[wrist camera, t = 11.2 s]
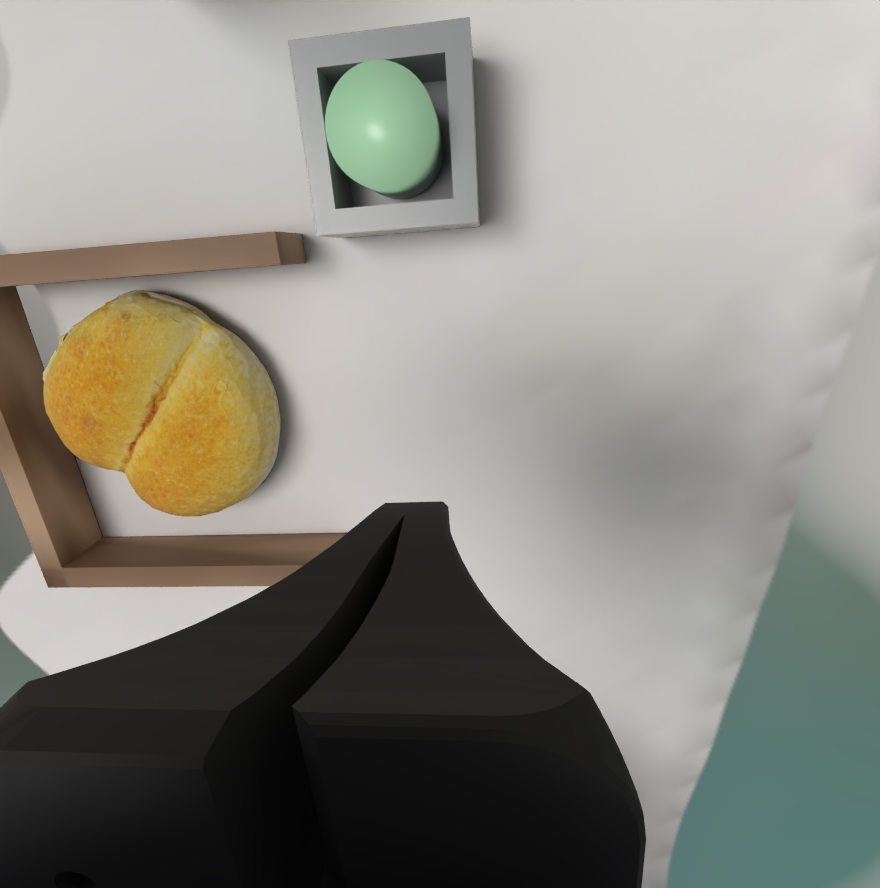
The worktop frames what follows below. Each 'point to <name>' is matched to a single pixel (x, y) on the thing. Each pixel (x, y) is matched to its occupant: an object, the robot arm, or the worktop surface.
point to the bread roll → (165, 403)
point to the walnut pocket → (54, 466)
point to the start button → (384, 129)
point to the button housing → (452, 94)
